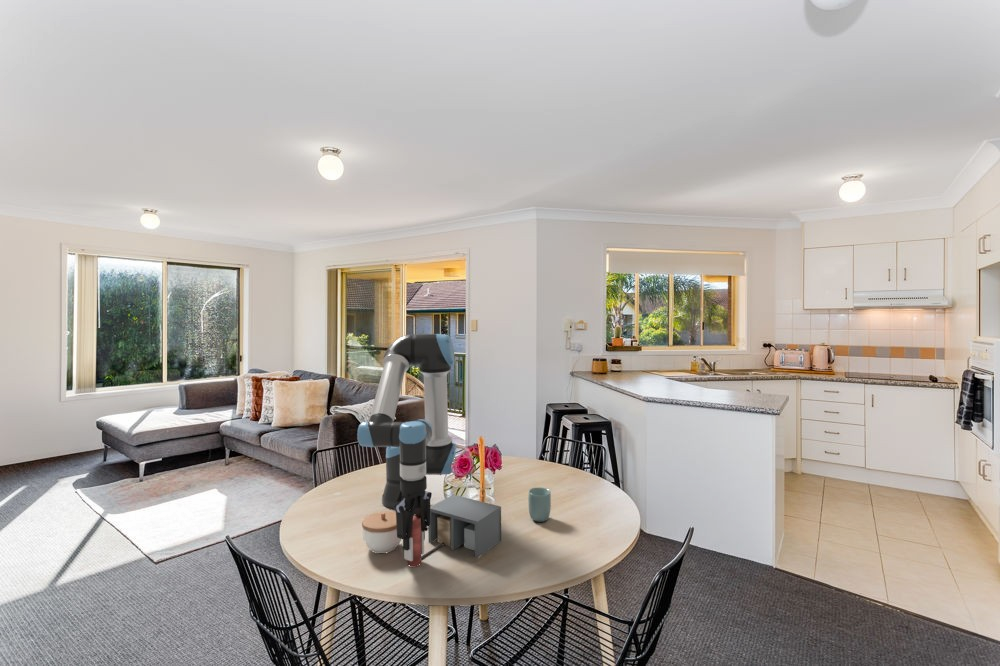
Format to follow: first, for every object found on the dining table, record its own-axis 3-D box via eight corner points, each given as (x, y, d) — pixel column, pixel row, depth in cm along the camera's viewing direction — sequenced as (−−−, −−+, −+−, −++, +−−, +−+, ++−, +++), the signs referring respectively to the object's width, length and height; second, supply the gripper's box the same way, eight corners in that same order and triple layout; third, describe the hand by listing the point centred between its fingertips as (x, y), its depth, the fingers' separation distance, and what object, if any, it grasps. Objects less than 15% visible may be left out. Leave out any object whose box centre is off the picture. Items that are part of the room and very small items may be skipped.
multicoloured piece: (403, 563, 140) (402, 519, 139) (447, 535, 157) (447, 496, 157) (416, 568, 137) (415, 523, 137) (459, 539, 155) (459, 499, 154)
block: (464, 547, 150) (464, 528, 150) (473, 540, 154) (473, 522, 154) (477, 551, 147) (477, 532, 147) (486, 544, 151) (486, 525, 151)
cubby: (428, 542, 153) (428, 507, 153) (453, 526, 164) (453, 494, 164) (477, 558, 143) (477, 521, 142) (501, 540, 154) (501, 506, 153)
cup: (549, 525, 165) (549, 496, 164) (527, 523, 166) (526, 494, 166) (551, 515, 172) (551, 488, 172) (530, 514, 174) (530, 486, 173)
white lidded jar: (383, 562, 140) (382, 525, 140) (353, 551, 147) (352, 516, 147) (413, 545, 151) (412, 510, 151) (384, 535, 158) (383, 502, 157)
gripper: (401, 488, 130) (403, 573, 131) (442, 470, 144) (443, 547, 145) (382, 483, 134) (383, 565, 135) (423, 466, 148) (424, 541, 149)
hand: (414, 555), depth 140 cm, fingers closed on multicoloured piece, 4 cm apart
